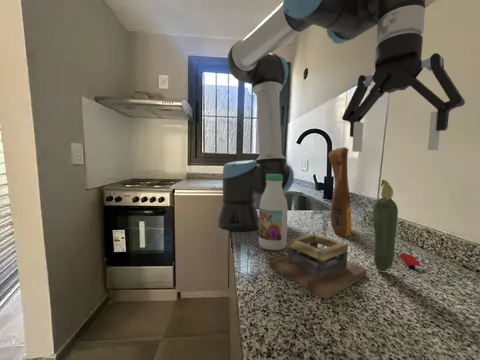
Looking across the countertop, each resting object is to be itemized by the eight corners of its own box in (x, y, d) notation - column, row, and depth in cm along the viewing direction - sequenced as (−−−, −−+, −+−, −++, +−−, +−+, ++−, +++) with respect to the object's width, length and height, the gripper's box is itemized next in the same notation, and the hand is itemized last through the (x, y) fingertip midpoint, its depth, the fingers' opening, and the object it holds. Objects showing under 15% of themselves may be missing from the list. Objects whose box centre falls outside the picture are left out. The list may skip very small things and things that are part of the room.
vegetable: (396, 279, 46) (404, 181, 44) (373, 276, 46) (380, 180, 45) (387, 269, 50) (393, 179, 48) (365, 267, 51) (371, 178, 49)
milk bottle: (269, 238, 68) (271, 172, 66) (291, 246, 63) (294, 174, 61) (252, 245, 63) (254, 173, 61) (275, 253, 57) (277, 175, 55)
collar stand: (270, 266, 50) (271, 238, 50) (310, 252, 58) (311, 228, 58) (325, 299, 39) (327, 263, 38) (366, 276, 47) (368, 245, 46)
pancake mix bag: (331, 238, 69) (336, 146, 67) (324, 221, 88) (328, 149, 85) (355, 240, 67) (361, 146, 65) (343, 223, 86) (347, 149, 83)
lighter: (413, 255, 56) (426, 269, 48) (413, 259, 56) (425, 275, 49) (400, 253, 57) (410, 266, 50) (399, 257, 57) (410, 272, 50)
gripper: (329, 59, 52) (325, 151, 54) (489, -5, 32) (473, 147, 33) (347, 67, 56) (342, 152, 58) (497, 15, 36) (483, 149, 38)
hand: (390, 151), depth 46 cm, fingers open, 13 cm apart
